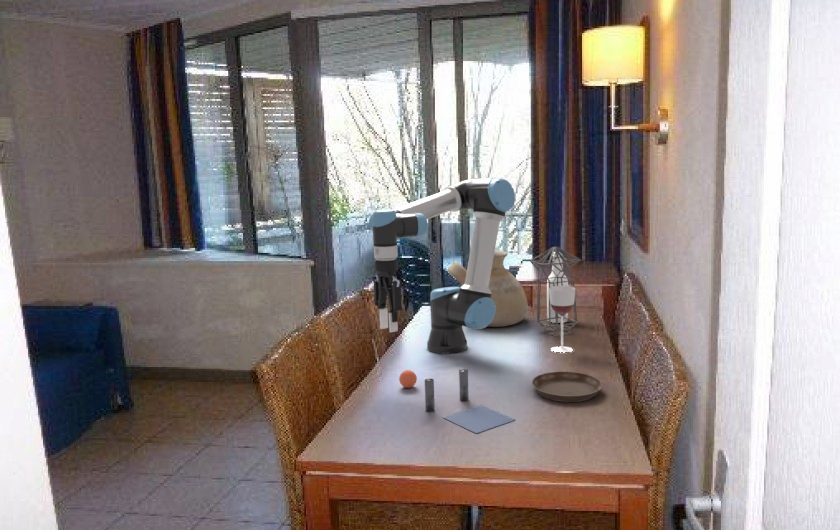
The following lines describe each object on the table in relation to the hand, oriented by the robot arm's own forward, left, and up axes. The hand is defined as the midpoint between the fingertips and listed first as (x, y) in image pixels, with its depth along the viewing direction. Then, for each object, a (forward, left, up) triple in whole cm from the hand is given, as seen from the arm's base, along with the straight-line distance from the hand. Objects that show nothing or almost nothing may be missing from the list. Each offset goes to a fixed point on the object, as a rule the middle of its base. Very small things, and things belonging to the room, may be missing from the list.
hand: (388, 329), depth 216 cm
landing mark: (+44, 0, -17) cm, 47 cm away
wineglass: (+14, +66, -17) cm, 70 cm away
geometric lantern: (-4, +82, -17) cm, 84 cm away
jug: (-36, +74, -17) cm, 84 cm away
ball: (+10, 0, -14) cm, 17 cm away
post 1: (+30, -6, -17) cm, 35 cm away
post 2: (+30, +6, -17) cm, 35 cm away
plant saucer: (+45, +34, -17) cm, 59 cm away
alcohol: (-16, +96, -17) cm, 99 cm away
